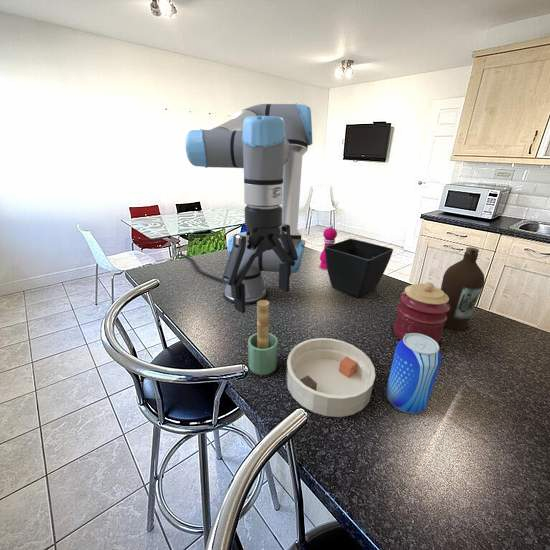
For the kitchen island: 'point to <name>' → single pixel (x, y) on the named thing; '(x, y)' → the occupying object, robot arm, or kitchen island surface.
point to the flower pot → (356, 265)
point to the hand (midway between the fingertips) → (263, 299)
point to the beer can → (413, 372)
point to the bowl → (329, 377)
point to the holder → (262, 355)
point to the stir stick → (262, 324)
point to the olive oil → (462, 289)
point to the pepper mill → (327, 243)
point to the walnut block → (309, 382)
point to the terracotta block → (347, 367)
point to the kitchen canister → (421, 311)
